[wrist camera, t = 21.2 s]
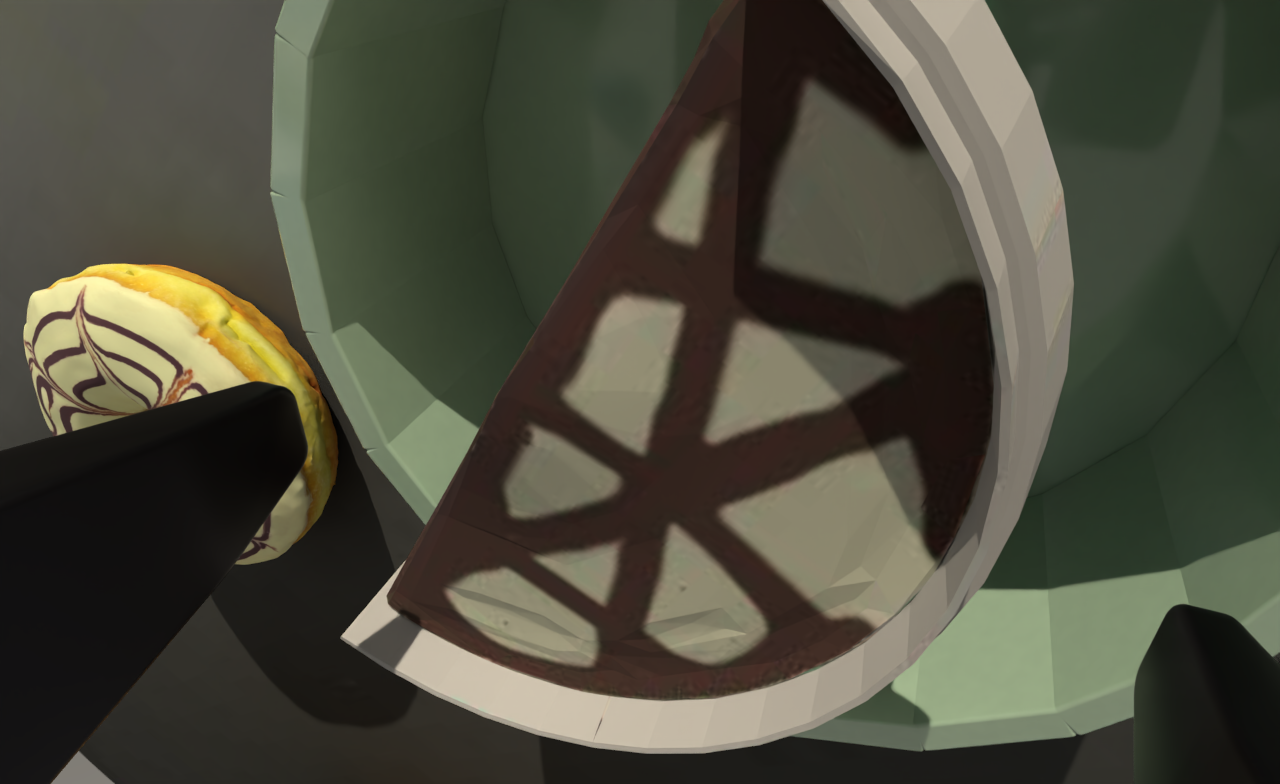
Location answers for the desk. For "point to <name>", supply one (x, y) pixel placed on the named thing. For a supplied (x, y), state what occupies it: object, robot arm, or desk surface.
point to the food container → (761, 397)
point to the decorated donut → (172, 367)
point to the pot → (1100, 322)
